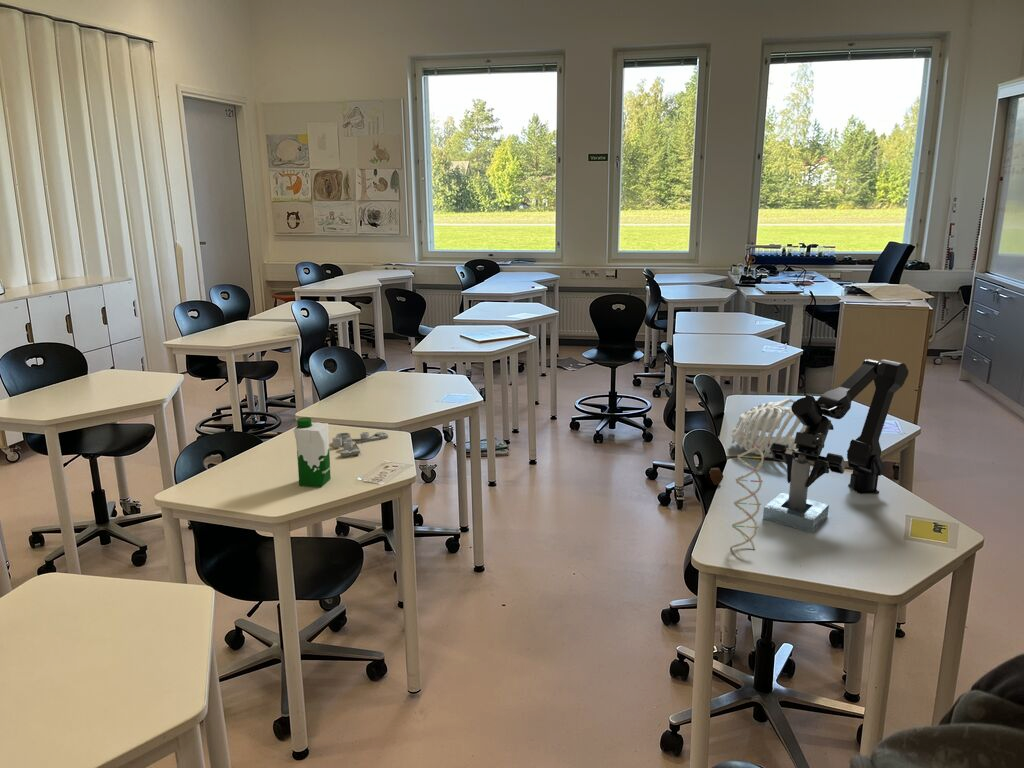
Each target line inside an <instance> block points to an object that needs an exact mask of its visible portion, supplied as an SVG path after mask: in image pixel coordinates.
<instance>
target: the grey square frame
mask: <svg viewBox="0 0 1024 768" xmlns="http://www.w3.org/2000/svg"><path fill="white" fill-rule="evenodd" d="M788 500H789V493H784V492H780V493H779V494H778V495H777V496H775V497H774V498H773V499H772V500H771V501H770V502H768V503H767V504H766V505H765V506H764V507H763V513H762V520H764V521H768V522H772V523H775V524H780V525H783V526H787V527H790V528H794V529H798V530H800V531H801V530H802V531H804V532H809V533H811V534H812V533H813V532H814V531H815V530H816V529H817V528H818V527H820V525H821V524H822V523H823V522H824V521H825V520H826V519H827V517H828V514H829V509H830V507H829V506H830V504H828V503H825V502H820V501H816V500H812V499H808V498H807V501H806V509H805V510H804V511H796V510H792V509H789V508H788Z"/></svg>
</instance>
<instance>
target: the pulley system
mask: <svg viewBox="0 0 1024 768" xmlns="http://www.w3.org/2000/svg"><path fill="white" fill-rule="evenodd" d="M359 434H360V435H359V436H360V438H352V436H351V433H350V432H339V433H337V434H335V436H334V437H332V446H333V447H343V450H342V451H340V452H339V454H340V457H341V456H342V457H343V458H347V457H349V456H353V455H354V456H356V455H360V454H361V449H360V448H359V446H358V445H359V444H364V443H369V442H374V441H381V440H386V439H389V434H388V433H386V432H384V431H378V432H376V433H374V434H372V435H371V436H370V432H361V433H359ZM376 436H377V437H376ZM353 442H354V446H355V449H354V446H353Z"/></svg>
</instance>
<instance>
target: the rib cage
mask: <svg viewBox="0 0 1024 768" xmlns="http://www.w3.org/2000/svg"><path fill="white" fill-rule="evenodd" d="M796 401H797V400H794V399H792V398H784V399H782V400H781V401H775V402H774V401H769V402H768V403H766V402H763V403H760V404H759V405H755V406H753V407H752V408H751V409H747V410H746V411H744V413H741V414H739V417H738V421H737V423H736V424H735V426H734V427H733V429H732V430H731V435H730V436H731V437H732V439H731V444H734V443H737V446H738V447H740V448H744V449H745V451H748V450H751V449H753V448H754V446H753V445H752V444H751V443H750V442H748V441H746V440H745V439H744V438H742V437H741V436H740V432H741V433H742V435H743V436H744V437H746V438H748V439H749V440H750V441H751V442H752V443H754V444H755V445H757V446H758V445H759V444H760V443H761V442H762V441H763V437H764V434H767V433H768V434H767V436H766V438H765V442H764V443H763V444H762V445H761V446H760V447H759V449H760V450H761V451H762V453H763V455H764V458H765V457H767V458H769V459H771V458H772V459H773V456H772V453H771V451H770V448H771V445H772V444H773V443H774V442H778V443H783V444H787V445H788V447H789V449H793V450H795V451H798V449H797V448H796V444H794V441H795V437H796V435H794V433H795V432H796V430H797V428H798V427H799V425H800V424H802V423H801V422H800V420H799V419H798V418H797V417H796V416H795V414H794V413H793V412H792V410H791V407H792V405H791V406H786V405H789V403H792V404H793V403H794V402H796ZM785 416H786V417H785ZM794 416H795V417H796V418H795V421H794V423H793V425H792V426H791V427H790V429H789V431H788V432H787V433H786V434H785V436H782V435H783V432H784V430H785V429H786V427H787V426H788V425H789V423H790V422H791V420H792V419H793V417H794ZM784 417H785V419H784V421H783V418H784ZM782 421H783V423H782ZM781 423H782V425H781ZM779 428H780V429H779ZM776 429H777V430H778V429H779V430H778V432H777V433H776V435H775V436H773V435H774V432H775V431H776ZM805 429H806V426H805V425H803V424H802V427H801V429H800V430H799V432H801V433H803V431H804V432H805ZM750 454H755V455H757V456H758V455H760V452H759V451H758V450H757V449H755V450H754V451H752V452H750ZM760 456H761V455H760ZM795 460H798V458H796V459H795Z"/></svg>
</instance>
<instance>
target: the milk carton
mask: <svg viewBox="0 0 1024 768" xmlns="http://www.w3.org/2000/svg"><path fill="white" fill-rule="evenodd" d="M296 421H297V423H296V424H297V425H296V427H295V428H294V429H293V433H294V438H295V443H296V455H297V456H296V457H297V468H298V469H297V470H298V484H299V485H298V486H299V487H308V488H323V487H324V486H326V484H327V483H328V482H329V481H330V480H331V456H330V441H329V423H326V422H325V423H322V422H313V421H312V418H311V417H299V418H298V419H297V420H296Z"/></svg>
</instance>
